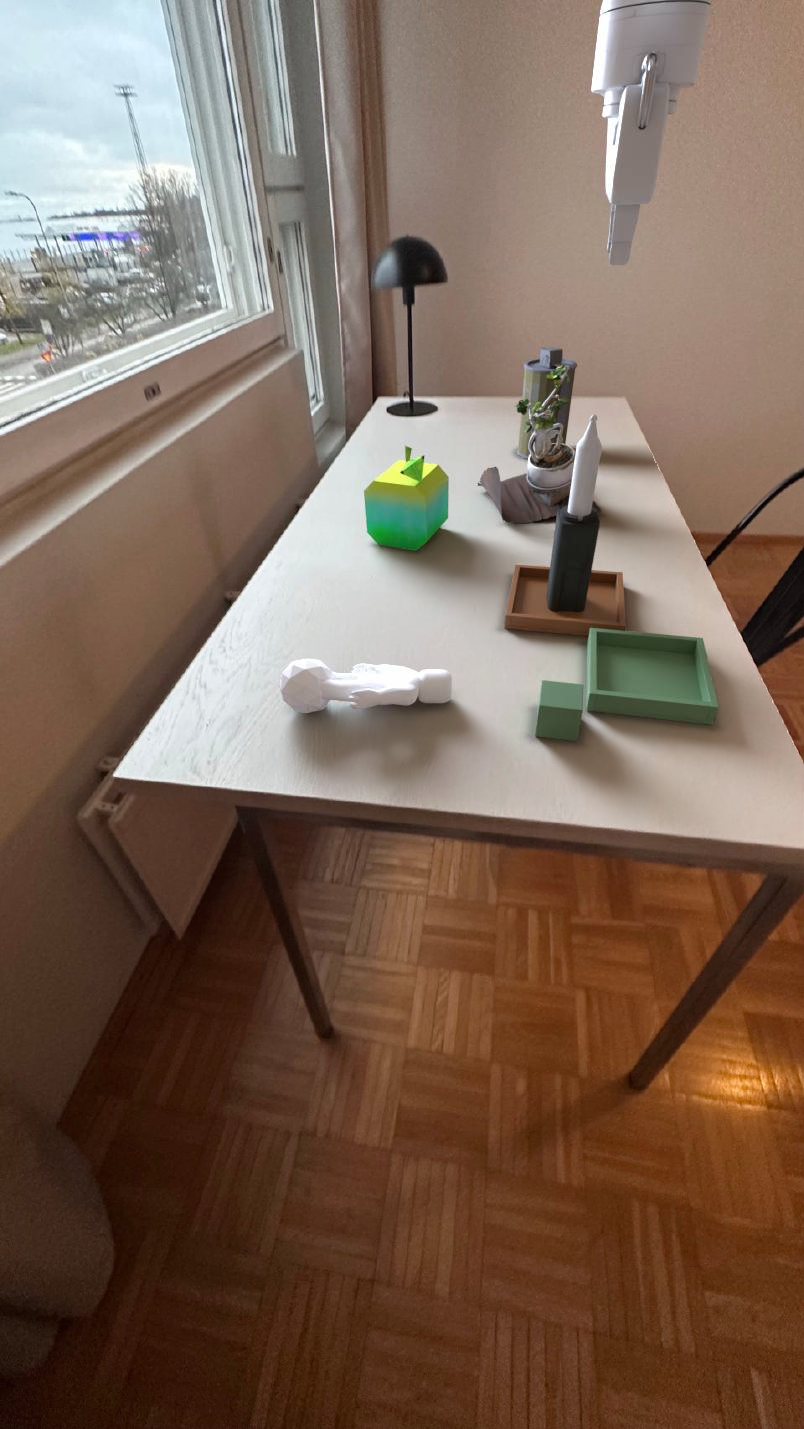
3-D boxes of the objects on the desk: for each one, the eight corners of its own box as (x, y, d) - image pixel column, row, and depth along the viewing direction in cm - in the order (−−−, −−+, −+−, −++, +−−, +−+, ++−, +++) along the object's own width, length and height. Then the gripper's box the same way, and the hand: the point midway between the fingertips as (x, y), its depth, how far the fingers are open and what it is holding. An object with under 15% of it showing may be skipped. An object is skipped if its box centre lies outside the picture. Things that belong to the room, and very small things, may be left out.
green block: (577, 715, 72) (583, 684, 69) (576, 741, 69) (582, 710, 66) (537, 710, 73) (541, 679, 70) (534, 736, 70) (539, 705, 67)
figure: (273, 731, 69) (455, 731, 70) (270, 673, 66) (458, 674, 68) (286, 695, 79) (444, 696, 80) (283, 645, 77) (446, 646, 78)
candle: (581, 593, 91) (613, 408, 75) (585, 612, 87) (620, 421, 71) (545, 593, 92) (569, 408, 75) (548, 611, 88) (573, 421, 71)
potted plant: (607, 527, 114) (608, 393, 94) (507, 562, 115) (487, 436, 96) (567, 470, 126) (560, 341, 107) (477, 502, 128) (454, 380, 108)
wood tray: (619, 584, 94) (622, 572, 92) (623, 639, 83) (626, 626, 82) (514, 576, 97) (515, 564, 95) (504, 628, 86) (505, 615, 85)
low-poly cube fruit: (368, 542, 108) (360, 452, 98) (392, 519, 114) (387, 433, 104) (426, 552, 104) (425, 460, 94) (448, 528, 111) (449, 439, 101)
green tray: (697, 654, 80) (703, 637, 78) (712, 725, 70) (718, 707, 68) (587, 644, 83) (590, 627, 81) (586, 710, 73) (589, 693, 71)
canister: (507, 450, 140) (515, 347, 126) (547, 441, 143) (558, 341, 130) (535, 465, 132) (546, 357, 119) (576, 456, 135) (591, 350, 122)
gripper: (700, 43, 46) (657, 271, 55) (674, 71, 61) (643, 247, 70) (611, 50, 47) (583, 272, 57) (606, 76, 62) (585, 249, 72)
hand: (616, 258), depth 64 cm, fingers open, 8 cm apart
